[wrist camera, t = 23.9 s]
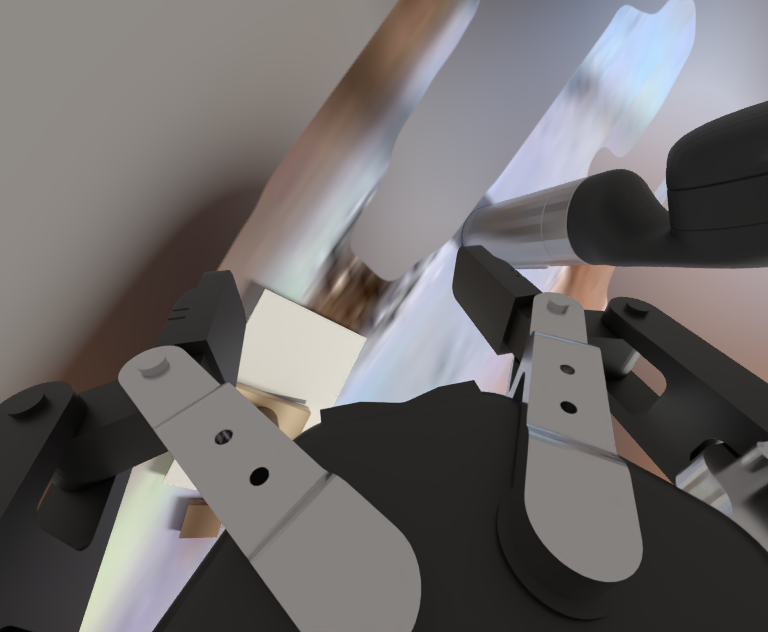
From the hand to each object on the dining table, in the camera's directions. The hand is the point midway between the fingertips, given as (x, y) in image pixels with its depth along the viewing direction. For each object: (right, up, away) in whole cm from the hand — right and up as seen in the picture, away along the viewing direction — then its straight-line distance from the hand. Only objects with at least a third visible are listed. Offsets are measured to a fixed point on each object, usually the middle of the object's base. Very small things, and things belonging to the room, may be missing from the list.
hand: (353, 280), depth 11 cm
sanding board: (-13, -12, +28) cm, 33 cm away
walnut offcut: (-21, -25, +27) cm, 43 cm away
